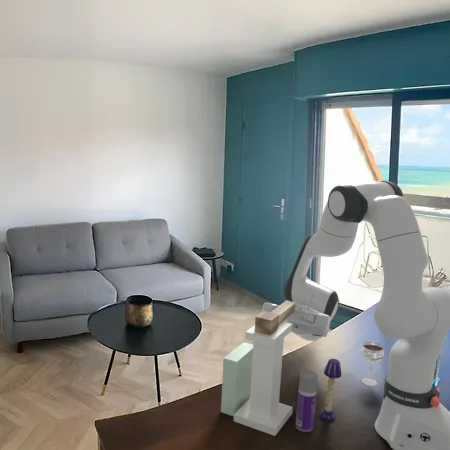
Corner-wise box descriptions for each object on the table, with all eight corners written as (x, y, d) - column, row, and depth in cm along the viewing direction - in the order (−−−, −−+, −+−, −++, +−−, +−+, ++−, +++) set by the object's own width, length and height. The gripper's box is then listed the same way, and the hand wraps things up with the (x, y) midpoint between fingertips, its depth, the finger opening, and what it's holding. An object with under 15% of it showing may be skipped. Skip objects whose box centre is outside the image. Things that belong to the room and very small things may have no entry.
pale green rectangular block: (252, 396, 151) (256, 345, 148) (233, 416, 141) (236, 361, 137) (240, 392, 153) (243, 342, 149) (220, 411, 142) (223, 358, 139)
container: (313, 433, 135) (317, 380, 132) (294, 430, 136) (299, 377, 133) (313, 423, 139) (318, 371, 136) (296, 420, 140) (300, 369, 137)
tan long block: (297, 312, 147) (298, 299, 146) (270, 335, 131) (271, 320, 130) (283, 309, 149) (284, 295, 148) (254, 331, 133) (255, 316, 132)
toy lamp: (324, 410, 146) (329, 355, 142) (339, 416, 143) (345, 360, 140) (316, 417, 142) (321, 361, 138) (332, 423, 139) (338, 366, 136)
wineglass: (353, 380, 163) (357, 345, 160) (365, 374, 167) (369, 339, 165) (372, 389, 158) (377, 353, 155) (384, 382, 163) (389, 347, 160)
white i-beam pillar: (292, 413, 143) (299, 325, 138) (275, 435, 133) (282, 341, 127) (253, 400, 149) (258, 315, 143) (233, 421, 138) (238, 329, 133)
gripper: (272, 303, 164) (257, 292, 152) (336, 317, 154) (325, 307, 142) (267, 323, 162) (252, 313, 150) (331, 338, 153) (320, 330, 141)
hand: (288, 310), depth 146 cm, fingers open, 8 cm apart
